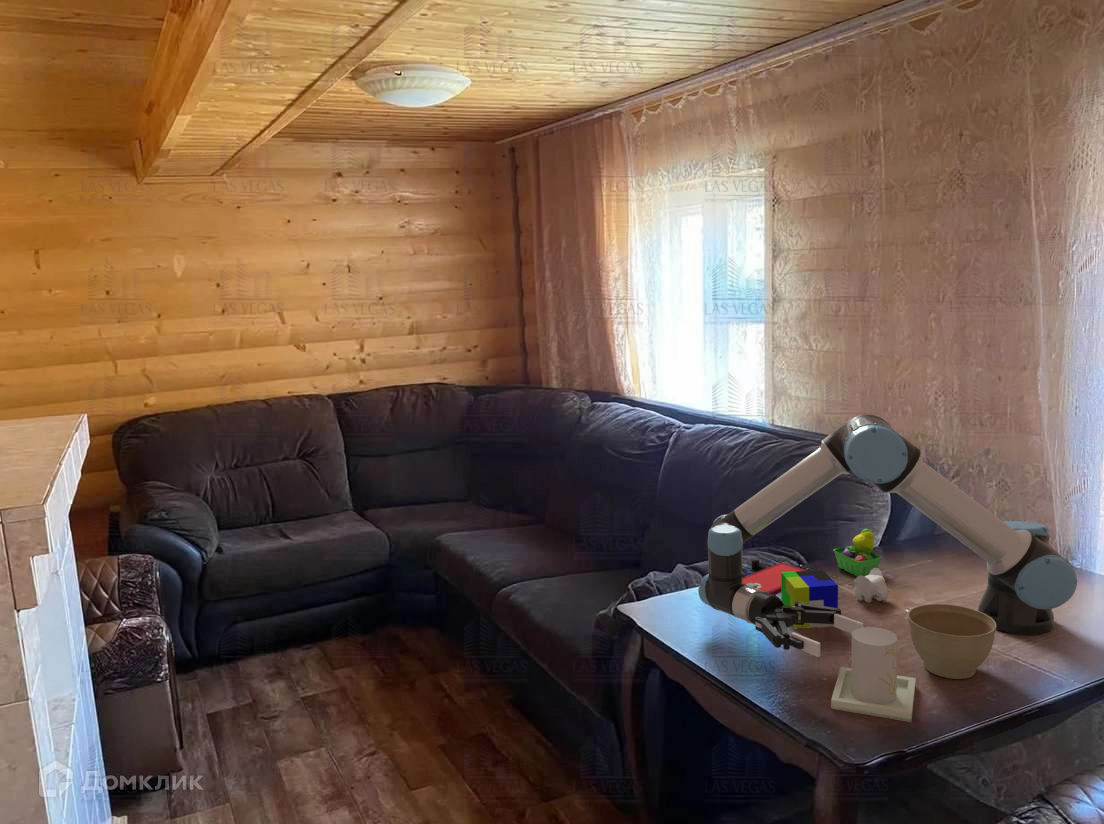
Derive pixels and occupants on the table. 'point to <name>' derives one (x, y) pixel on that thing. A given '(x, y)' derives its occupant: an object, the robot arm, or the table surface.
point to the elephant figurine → (871, 586)
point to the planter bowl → (951, 638)
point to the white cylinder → (874, 665)
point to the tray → (895, 710)
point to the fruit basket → (858, 555)
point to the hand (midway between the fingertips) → (841, 640)
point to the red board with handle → (767, 576)
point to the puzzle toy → (809, 591)
